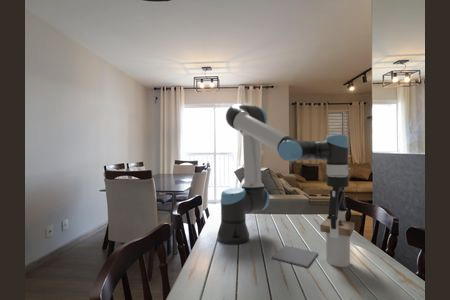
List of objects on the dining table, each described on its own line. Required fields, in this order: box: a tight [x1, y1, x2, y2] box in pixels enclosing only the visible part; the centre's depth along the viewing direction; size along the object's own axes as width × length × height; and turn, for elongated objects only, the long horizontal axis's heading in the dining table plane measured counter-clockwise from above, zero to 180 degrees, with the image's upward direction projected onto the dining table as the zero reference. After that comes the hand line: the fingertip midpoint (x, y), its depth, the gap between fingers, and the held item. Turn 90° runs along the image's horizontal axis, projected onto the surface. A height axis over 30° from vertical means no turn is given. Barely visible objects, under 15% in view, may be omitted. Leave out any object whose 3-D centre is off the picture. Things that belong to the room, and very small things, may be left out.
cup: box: [325, 232, 351, 268], centre depth 96 cm, size 8×8×12 cm
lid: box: [319, 218, 355, 238], centre depth 95 cm, size 10×10×4 cm
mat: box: [271, 245, 319, 269], centre depth 101 cm, size 14×14×1 cm
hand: (338, 232), depth 95 cm, fingers open, 13 cm apart
